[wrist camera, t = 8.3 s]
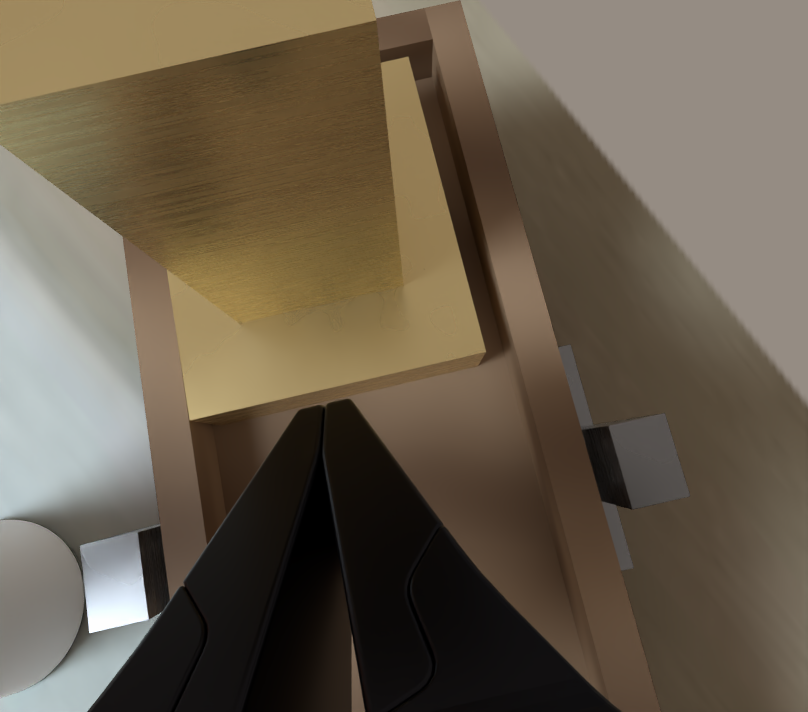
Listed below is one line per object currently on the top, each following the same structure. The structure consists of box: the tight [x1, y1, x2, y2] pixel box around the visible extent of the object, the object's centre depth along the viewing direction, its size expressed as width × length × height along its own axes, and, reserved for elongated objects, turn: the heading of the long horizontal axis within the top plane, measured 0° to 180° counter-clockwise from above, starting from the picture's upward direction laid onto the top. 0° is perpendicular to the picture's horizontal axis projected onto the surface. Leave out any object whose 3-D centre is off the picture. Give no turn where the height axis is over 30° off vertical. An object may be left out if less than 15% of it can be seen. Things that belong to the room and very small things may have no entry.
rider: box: [0, 0, 486, 426], centre depth 10 cm, size 8×7×10 cm
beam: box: [123, 1, 661, 712], centre depth 15 cm, size 26×11×4 cm, turn 13°
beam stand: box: [80, 345, 690, 633], centre depth 17 cm, size 8×15×8 cm, turn 103°
